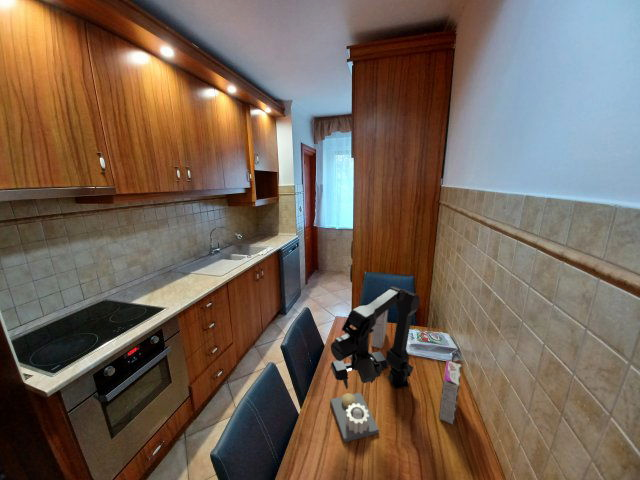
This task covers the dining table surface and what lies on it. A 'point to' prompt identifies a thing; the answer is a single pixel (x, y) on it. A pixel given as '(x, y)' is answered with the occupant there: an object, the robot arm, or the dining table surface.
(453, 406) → the candy bar box
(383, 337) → the cracker box
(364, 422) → the planet gear
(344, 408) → the carrier board
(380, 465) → the dining table surface
